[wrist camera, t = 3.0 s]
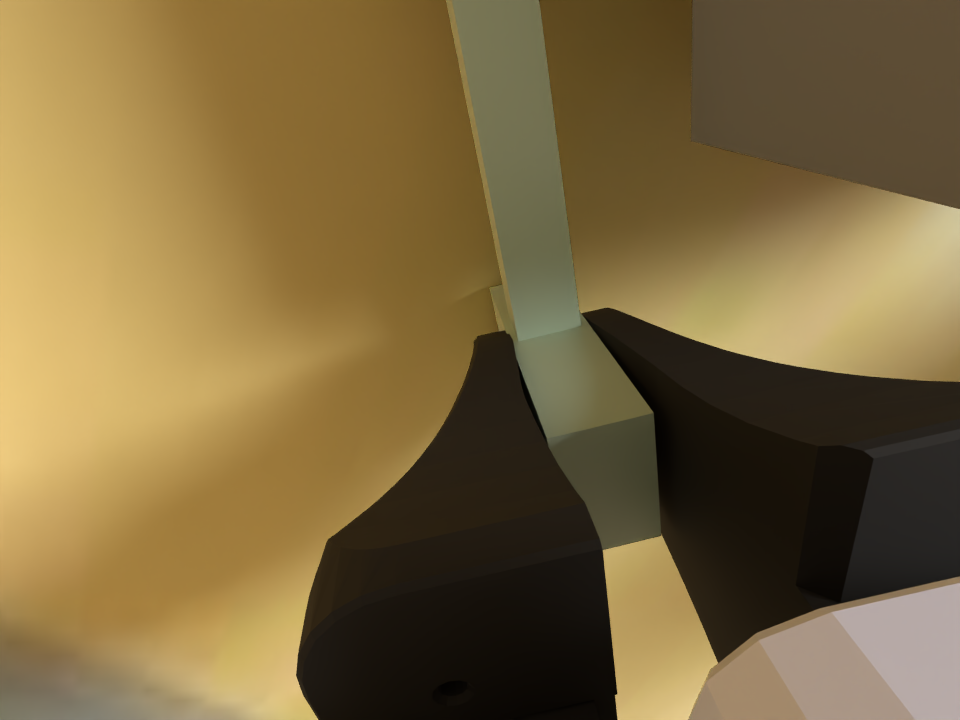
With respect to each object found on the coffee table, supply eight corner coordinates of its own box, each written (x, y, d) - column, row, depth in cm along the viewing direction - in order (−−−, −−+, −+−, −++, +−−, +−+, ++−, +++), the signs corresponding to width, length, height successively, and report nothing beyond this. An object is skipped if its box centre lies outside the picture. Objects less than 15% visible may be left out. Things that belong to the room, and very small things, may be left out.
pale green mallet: (529, -474, 7) (820, -1813, 2) (611, 348, 14) (738, 517, 8) (249, -408, 7) (-140, -1590, 2) (460, 385, 14) (492, 576, 8)
